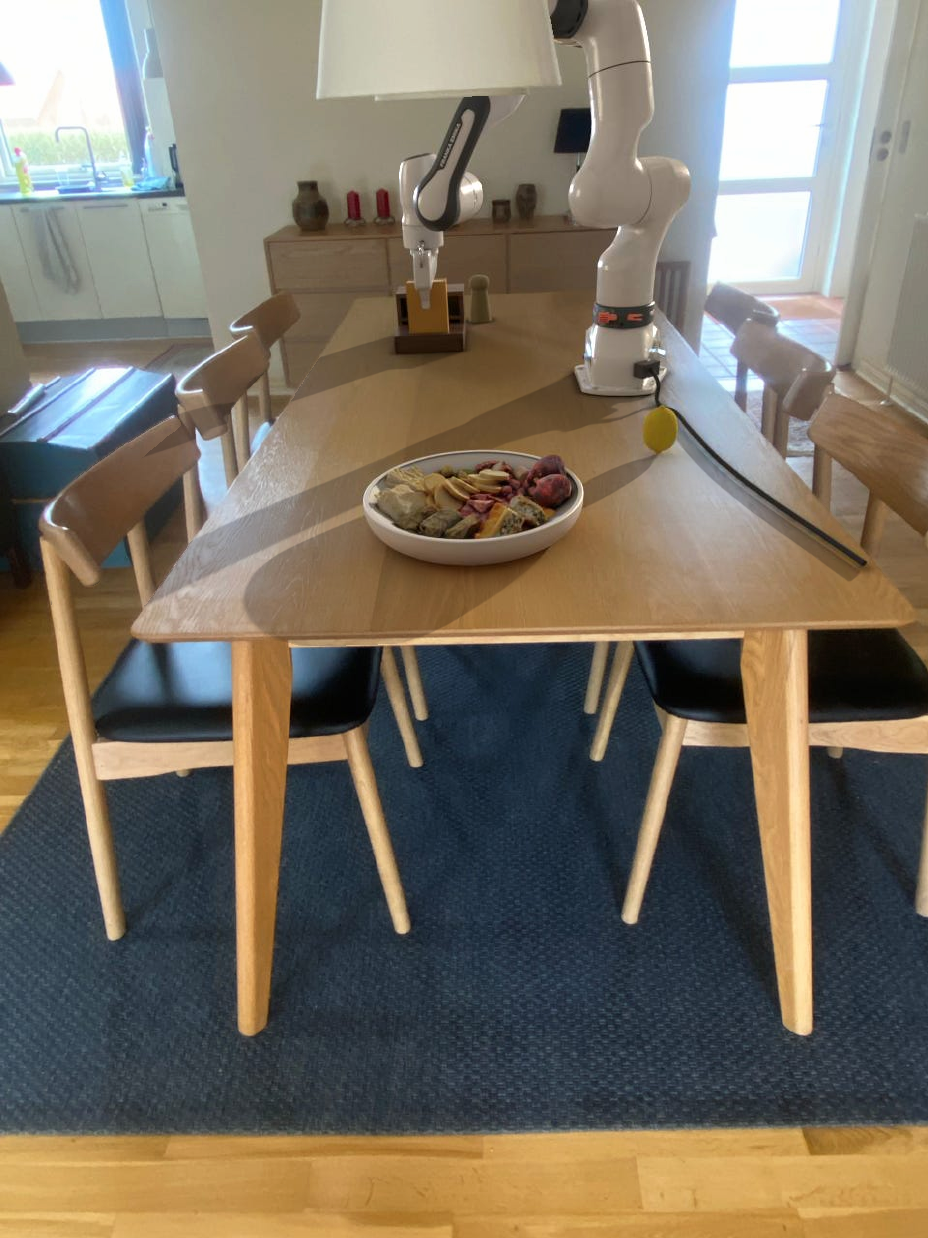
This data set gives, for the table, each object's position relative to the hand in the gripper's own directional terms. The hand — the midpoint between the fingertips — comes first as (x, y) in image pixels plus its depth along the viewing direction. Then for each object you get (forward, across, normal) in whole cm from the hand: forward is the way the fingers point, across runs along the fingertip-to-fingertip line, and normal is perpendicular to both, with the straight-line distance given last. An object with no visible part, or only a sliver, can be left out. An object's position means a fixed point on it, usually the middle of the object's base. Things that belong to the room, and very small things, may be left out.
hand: (427, 303), depth 189 cm
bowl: (+10, -94, -12) cm, 95 cm away
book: (+6, 0, 0) cm, 6 cm away
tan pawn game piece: (+10, +25, -12) cm, 29 cm away
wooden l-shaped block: (+10, +6, 0) cm, 12 cm away
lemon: (+10, -70, -42) cm, 82 cm away
